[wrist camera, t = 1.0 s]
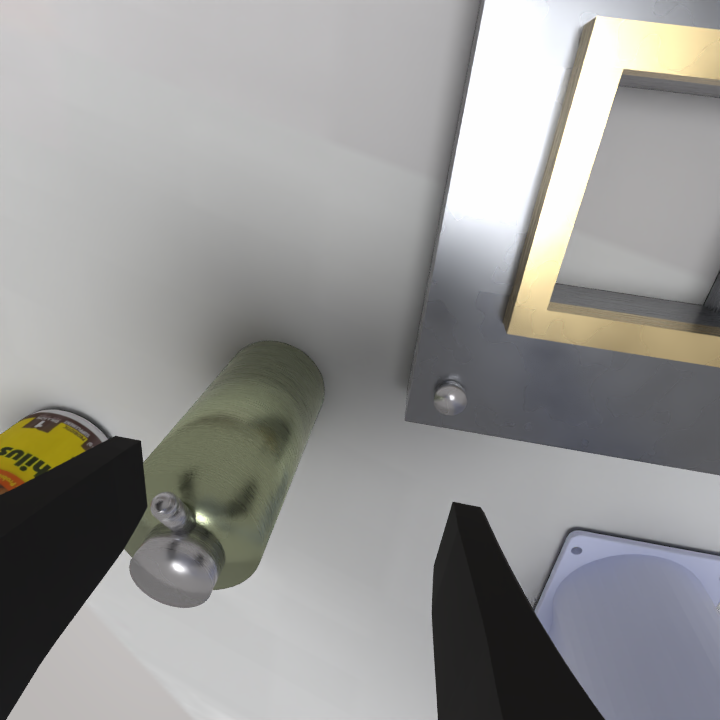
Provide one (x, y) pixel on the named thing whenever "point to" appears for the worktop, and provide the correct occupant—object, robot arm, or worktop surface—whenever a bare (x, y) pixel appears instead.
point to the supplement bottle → (43, 445)
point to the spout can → (224, 476)
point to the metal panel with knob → (562, 244)
